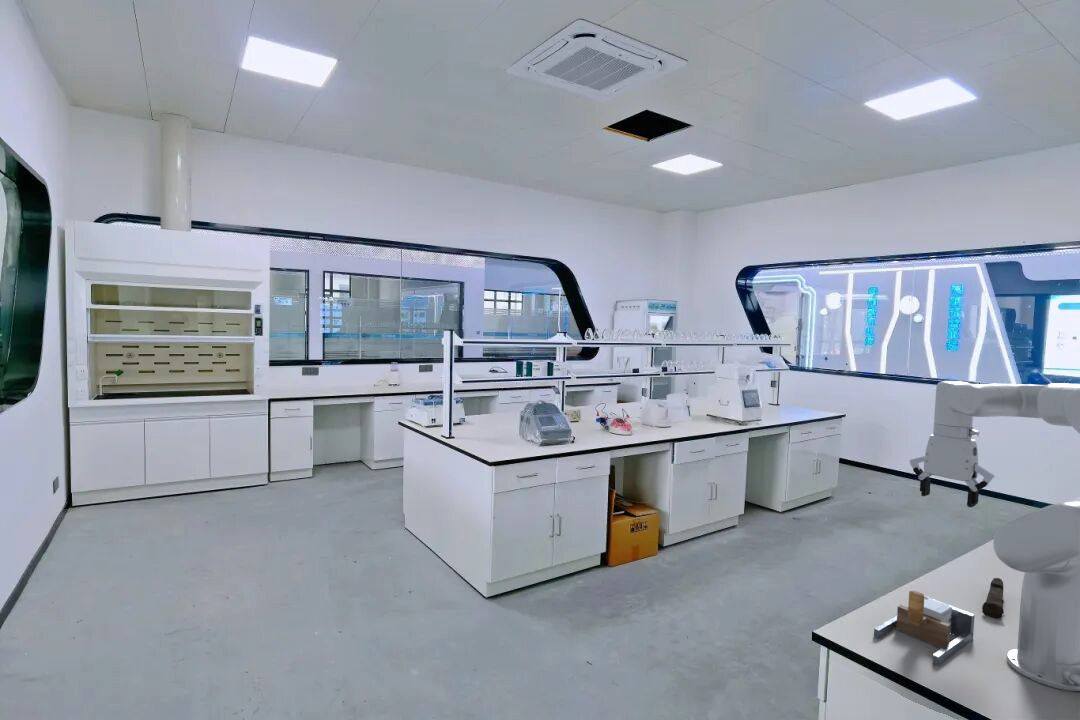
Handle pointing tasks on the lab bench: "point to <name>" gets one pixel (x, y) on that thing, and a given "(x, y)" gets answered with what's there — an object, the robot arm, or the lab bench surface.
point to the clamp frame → (959, 627)
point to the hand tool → (994, 600)
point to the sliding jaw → (922, 622)
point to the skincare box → (937, 610)
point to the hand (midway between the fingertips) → (947, 500)
